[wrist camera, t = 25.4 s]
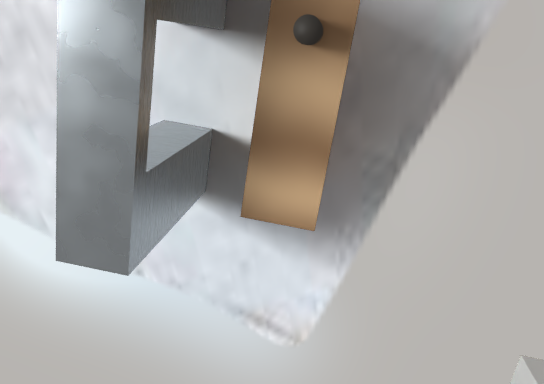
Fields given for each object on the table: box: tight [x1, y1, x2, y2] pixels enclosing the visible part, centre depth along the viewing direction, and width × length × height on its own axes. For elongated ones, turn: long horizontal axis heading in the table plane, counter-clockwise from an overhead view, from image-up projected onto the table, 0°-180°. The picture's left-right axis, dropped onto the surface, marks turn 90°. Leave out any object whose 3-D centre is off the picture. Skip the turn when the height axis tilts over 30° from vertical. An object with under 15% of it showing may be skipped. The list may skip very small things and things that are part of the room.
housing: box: [56, 0, 227, 276], centre depth 29 cm, size 4×18×15 cm, turn 171°
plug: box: [241, 0, 360, 231], centre depth 30 cm, size 13×4×12 cm, turn 171°
